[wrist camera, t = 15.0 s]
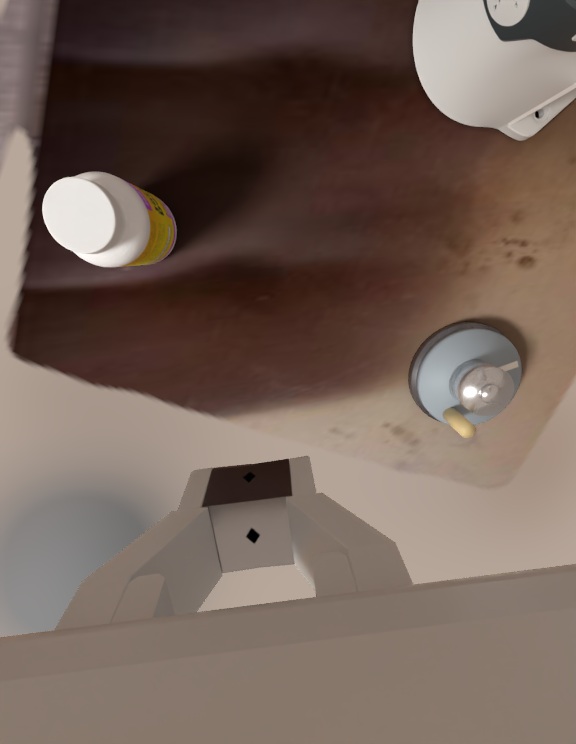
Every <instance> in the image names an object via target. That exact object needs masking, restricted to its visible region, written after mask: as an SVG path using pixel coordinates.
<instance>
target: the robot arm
mask: <svg viewBox="0 0 576 744" xmlns="http://www.w3.org/2000/svg"><path fill="white" fill-rule="evenodd" d="M413 53H414V60H415V65H416V69H417V73H418V76H419V79H420V81H421V84H422V86H423V88H424V90H425V92H426V93H427V95H428V97H429V98H430V99H431V101H432V102H433V103H434V105H435V106H436V107H437V108H438V109H439V110H440V111H441V112H443V113H444V114H445V115H447V116H448V117H450V118H451V119H453V120H455V121H457V122H459V123H462V124H465V125H470V126H476V127H491V128H496V129H498V130H500V131H501V132H503V133H504V134H506V135H508V136H509V137H511V138H513V139H516V140H519V141H523V140H526V139H528V138H530V137H531V136H533V135H534V134H536V133H537V132H538V131H539V130H540V129H542V128H543V127H544V126H545V125H546V124H547V123H548V122H549V121H550V120H552V119H553V118H554V117H555V116H556V115H557V114H558V113H559V112H560V111H562V110H563V109H564V108H565V107H566V106H567V105H568V104H569V103H570V102H572V101H573V100H574V99H575V98H576V0H419V2H418V5H417V9H416V14H415V19H414V26H413ZM536 111H537V112H538V113H539V117H538V119H537V118H536V117H535V112H536ZM289 461H290V463H289ZM291 564H295V566H296V568H297V569H298V570H299V571H300V573H301V574H302V575H303V576H304V578H305V579H306V580H307V581H308V583H309V584H310V585H311V586H312V588H313V589H314V590H315V591H316V597H313V598H306V599H297V600H289V601H282V602H274V603H266V604H259V605H251V606H243V607H235V608H227V609H219V610H211V611H204V612H197V611H198V609H199V608H200V606H201V605H202V604H203V602H204V601H205V599H206V598H207V596H208V595H209V594H210V592H211V591H212V589H213V588H214V587H215V585H216V584H217V582H218V581H219V579H220V578H221V577H222V573H227V572H233V571H240V570H246V569H253V568H259V567H270V566H280V565H291ZM0 744H576V564H572V565H564V566H556V567H549V568H541V569H533V570H525V571H517V572H509V573H501V574H494V575H486V576H478V577H470V578H463V579H455V580H447V581H439V582H431V583H423V584H415V585H413V583H412V580H411V578H410V576H409V573H408V571H407V569H406V567H405V564H404V562H403V560H402V557H401V555H400V552H399V550H398V548H397V546H396V543H395V542H393V541H392V540H391V539H389V538H388V537H386V536H385V535H383V534H382V533H380V532H379V531H377V530H376V529H374V528H373V527H371V526H370V525H369V524H367V523H366V522H364V521H363V520H361V519H360V518H358V517H357V516H355V515H354V514H353V513H351V512H350V511H348V510H347V509H345V508H344V507H342V506H341V505H339V504H338V503H336V502H335V501H334V500H332V499H331V498H329V497H327V496H326V495H325V494H323V493H316V489H315V484H314V478H313V473H312V468H311V463H310V458H309V457H308V456H304V457H298V458H292V459H284V460H278V461H271V462H264V463H258V464H246V465H237V466H228V467H218V468H207V469H200V470H194V471H192V473H191V475H190V478H189V481H188V483H187V486H186V489H185V491H184V494H183V497H182V499H181V502H180V505H179V508H178V510H177V511H172V512H170V513H169V514H168V515H166V516H165V517H164V518H163V519H161V520H160V521H159V522H157V523H156V524H155V525H154V526H152V527H151V528H150V529H148V530H147V531H146V532H145V533H143V534H142V535H141V536H140V537H138V538H137V539H136V540H134V541H133V542H132V543H131V544H129V545H128V546H127V547H126V548H124V549H123V550H122V551H120V552H119V553H118V554H117V555H115V556H114V557H113V558H112V559H110V560H109V561H108V562H106V563H105V564H104V565H103V566H101V567H100V568H99V569H98V570H96V571H95V572H94V573H92V574H91V575H90V576H89V577H87V578H86V579H85V580H84V581H83V582H82V583H81V585H80V586H79V588H78V590H77V592H76V593H75V595H74V597H73V599H72V600H71V602H70V604H69V605H68V607H67V609H66V611H65V612H64V614H63V616H62V618H61V619H60V621H59V623H58V625H57V626H56V628H55V630H54V631H47V632H38V633H30V634H22V635H15V636H7V637H0Z"/></svg>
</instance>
